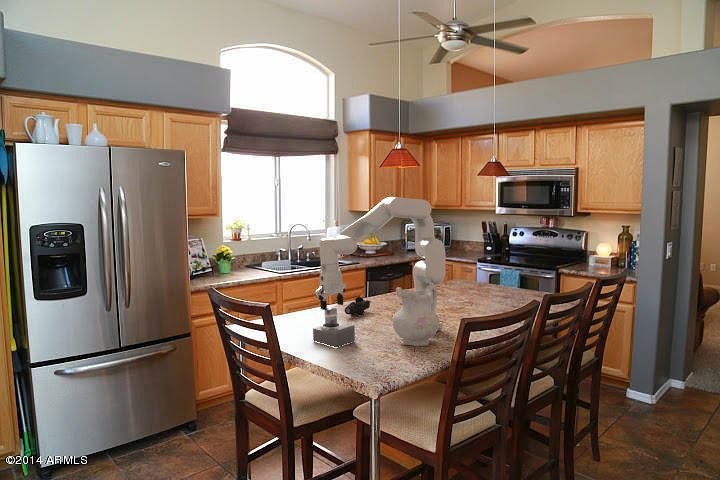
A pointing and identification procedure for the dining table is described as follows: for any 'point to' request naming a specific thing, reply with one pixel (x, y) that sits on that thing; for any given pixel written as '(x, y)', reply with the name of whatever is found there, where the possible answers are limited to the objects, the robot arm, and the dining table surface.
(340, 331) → the grey ring-socket block
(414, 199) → the robot arm
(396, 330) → the ceramic pitcher
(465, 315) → the dining table surface
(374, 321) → the dining table surface
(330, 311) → the lens
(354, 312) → the night vision scope
